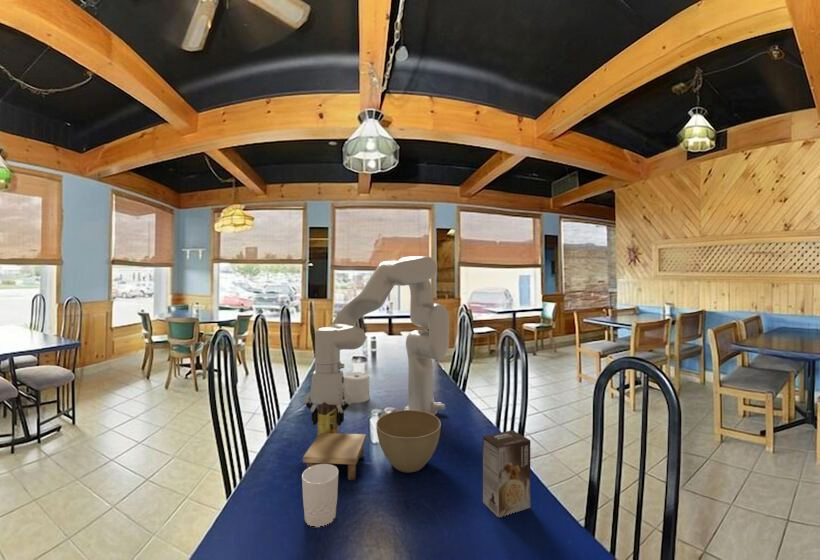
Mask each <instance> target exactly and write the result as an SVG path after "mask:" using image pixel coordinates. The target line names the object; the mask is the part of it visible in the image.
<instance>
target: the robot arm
mask: <svg viewBox="0 0 820 560" xmlns="http://www.w3.org/2000/svg"><path fill="white" fill-rule="evenodd" d="M437 270H438V266H437V263H436V260H435V259H433V258H432V257H431V256H427V255H423V256H420V255H419V256H417V255H416V256H404V257H401V258H400V259H398V260H385V261H381V262H380V263H379V264H378V266H377V267H376V268H375V270H374V272H373V273H372V274H371V276H370V278H369V280H368V281H367V282H366V284H365V285H364V287H363V288H362V290H361V291H360V293H359V294H358V295H357V296H356V297H354V298H353V299H352V300H350V301H349V303H347V304H346V305H345V306H344V307H342V309H341V310H340V311H339V312H338V313H337V315H336V316H335V318H334V320H333V321H332V323H331V324H330V326H324V327H319V328H317V329H316V330H315V332H314V334H315V335H314V355H315V356H314V358H315V359H314V360H315V361H314V363H315V364H314V365H315V366H314V367H315V369H314V371H313V372H312V378H311V384H310V391H309V392H308V393H307V394H305V395H304V396H302V398H301V401H302V403H304V404H305V405H306V408H307V409H308V410H309V411H310V413H311V422H312V425H313V426H316V425H318V405H319V404H323V403H324V402H325V403H327V404H329V405H336V406H337V408H338V427H340V426H341V425H342V423H344V420H345V411H346V410H348V408H349V407H350V405H351V404H353V403H352V402H353V400H354V398H353V397H351V396H350V395H349V394H348V393H347V392H346V391H345V382H344V372H343V370H342V369H345V367H346V366H345V363H342V361H341V351H342V350H356V349H357V350H358V349H360V348H361V347H362V346H364V345H365V343H366V339H367V338H366V332H365V331H364V329H362V327H359V326H357V325H355V324H356V323H357V322H358V321H359V319H361V318H362V317H365V315H368V314H370V313H372V312H375V311H377V310H379V309H380V308H382V307H383V305H384V304H385V302H386V300H387V298H388V296H389V295H390V294H391V292H392V291H393V288H395V287H394V286H408V287H409V291H410V293H409V294H410V302H409V303H410V305H409V306H410V307H409V308H410V309H409V318H410V322H411V323H412V324H413V325H414V326H417V327H421V328H424V329H425V328H426V329H428V330H423V329H414V330H412V331H410V332H409V333H408V334H407V336H406V340H405V348H406V354H407V363H408V364H407V365H408V369H407V370H408V373H407V377H408V378H407V380H408V381H407V382H408V384H407V385H408V389H407V390H408V391H407V393H408V394H407V397H408V400H407V403H408V405H406V406H405V407H404V409H403V410H417V411H423V412H427V413H430V414H432V415H434V416H436V414H437V413H438V410H446V403H442V401H441V402H440V401H438V402H436V401H435V399H434V365H433V360H437V361H439V360H443V359H444V358H445V357H446V355H447V354H448V351H449V346H450V324H451V322H450V313H449V311H448V309H447V308H446V306H445V305H443V304H441V303H436V302H434V296H433V292H434V291H433V286H432V282H431V281H430V280H431V279H433V278H434V277H435V276H436V274H437V272H438V271H437ZM309 398H310V399H309ZM345 398H346V399H347V402H346V401H345V402H346V403H344V402H343V401H344V399H345Z"/></svg>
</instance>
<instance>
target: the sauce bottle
mask: <svg viewBox="0 0 820 560" xmlns="http://www.w3.org/2000/svg"><path fill="white" fill-rule="evenodd" d="M317 409H318V422H317V436H318V435H319V433H339V426H338V412H339V410H338V408H337V406H336V405H329V404H327V403H325V402H324V403H323V404H319V405H318V406H317Z"/></svg>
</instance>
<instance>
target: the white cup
mask: <svg viewBox="0 0 820 560" xmlns="http://www.w3.org/2000/svg"><path fill="white" fill-rule="evenodd" d="M301 481H302V482H301V483H302V484H301V486H302V503H303V511H304V514H303V515H304V521H305V524H306V523H307V524H306V525H308V526H309V525H310V526H309V527H311V526H315V527H314V528H321V527H320V526H323V527H325V526H324V525H326V526H328V525H330V524H332V523H333V521H334V520H335V519H336V514H337V504H338V491H339V489H338V488H339V468H338V467H337V466H336V465H334V464H331V463H317V464H315V465H314V466H311V467H309V468H307V467H306V469H305V470H304V471H303V472H302V474H301ZM334 518H335V519H334ZM333 519H334V520H333ZM329 523H330V524H329ZM327 524H328V525H327Z"/></svg>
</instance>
